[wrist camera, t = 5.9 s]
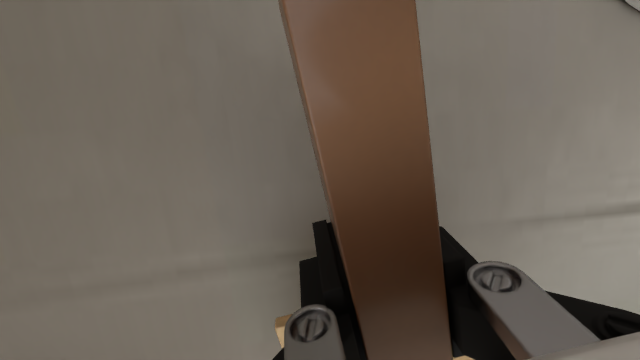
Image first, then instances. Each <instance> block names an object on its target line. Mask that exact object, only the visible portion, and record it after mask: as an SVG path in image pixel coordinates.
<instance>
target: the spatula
mask: <svg viewBox="0 0 640 360" xmlns="http://www.w3.org/2000/svg"><path fill="white" fill-rule="evenodd" d="M278 2H279V8H280V12H281V17H282V21H283V25H284V29H285V33H286V37H287V41H288V46H289V50H290V54H291V58H292V62H293V66H294V70H295V75H296V79H297V83H298V87H299V91H300V95H301V99H302V104H303V108H304V112H305V116H306V120H307V124H308V128H309V133H310V137H311V141H312V145H313V149H314V153H315V157H316V162H317V166H318V170H319V174H320V178H321V182H322V186H323V191H324V195H325V199H326V203H327V207H328V211H329V215H330V220H331V223H332V226H333V230H334V234H335V237H336V241H337V245H338V248H339V252H340V256H341V259H342V263H343V267H344V270H345V274H346V277H347V281H348V285H349V289H350V293H351V297H352V301H353V305H354V310H355V314H356V318H357V322H358V326H359V331H360V335H361V339H362V343H363V347H364V352H365V356H366V360H473V359H472V358H470V357H468V356H461V357H457V358H454V357H453V355H452V345H451V336H450V326H449V317H448V307H447V298H446V288H445V279H444V269H443V260H442V250H441V241H440V231H439V222H438V212H437V202H436V193H435V183H434V174H433V164H432V155H431V145H430V136H429V126H428V117H427V107H426V98H425V88H424V79H423V69H422V60H421V50H420V41H419V31H418V22H417V12H416V3H415V0H278ZM291 315H292V314H290V315H286V316H282V317H278V318H276V321H275V330H276V333H277V336H278V338H279V341H280V344H281V347H282V349H283V347H284V329H285V324H286V322H287V321H288V319H289V318H290V316H291Z"/></svg>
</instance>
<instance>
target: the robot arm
mask: <svg viewBox="0 0 640 360" xmlns="http://www.w3.org/2000/svg"><path fill="white" fill-rule="evenodd" d="M625 1H626V2H627V3H628V4H629V5H631V6H632V7H634V8H636V9H637V10H639V11H640V0H625ZM312 224H313V231H314V238H315V245H316V252H317V257H314V258H310V259H306V260H302V261H300V264H299V265H300V288H301V308H300V309H299V310H297V311H296V312H294V313H293V314H292V315H291V316H290V318H289V319H288V321H287V322H286V324H285V329H284V347H283V349H282V350H281V351H280V352H279V353H278V354H277V355H276V356H275V357H274V358H273V359H272V360H366V356H365V352H364V347H363V343H362V339H361V335H360V331H359V326H358V322H357V318H356V314H355V310H354V305H353V301H352V297H351V293H350V289H349V285H348V281H347V277H346V274H345V270H344V267H343V263H342V259H341V256H340V252H339V248H338V245H337V241H336V237H335V234H334V230H333V226H332V223H331V222H330V223H327V222H326V220H323V221H319V222H315V223H312ZM439 231H440V241H441V250H442V260H443V269H444V279H445V288H446V298H447V307H448V317H449V326H450V336H451V345H452V355H453V357H454V358H457V357H461V356H468V357H470V358H472V359H473V360H640V315H639V314H635V313H632V312H629V311H626V310H622V309H618V308H614V307H609V306H605V305H601V304H597V303H593V302H589V301H585V300H581V299H576V298H572V297H568V296H564V295H560V294H556V293H552V292H547V291H544V290H543V289H542V288H541V287H540V286H538V285H537V284H536V283H535V282H534V281H533V280H532V279H531V278H529V277H528V276H527V275H526V274H525V273H524V272H523V271H521V270H520V269H518V268H517V267H515V266H512V265H510V264H507V263H503V262H498V261H486V262H480V263H478V262H477V261H476V260H475V259H474V258H473V257H472V256H471V255H470V254H469V253H468V252H467V251H466V250H465V249H464V248H463V247H462V246H461V245H460V244H459V243H458V242H457V241H456V240H455V239H454V238H453V237H452V236H451V235H450V234H449V233H448V232H447V231H446V230H445V229H444V228H442V227H441V226H439Z"/></svg>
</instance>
